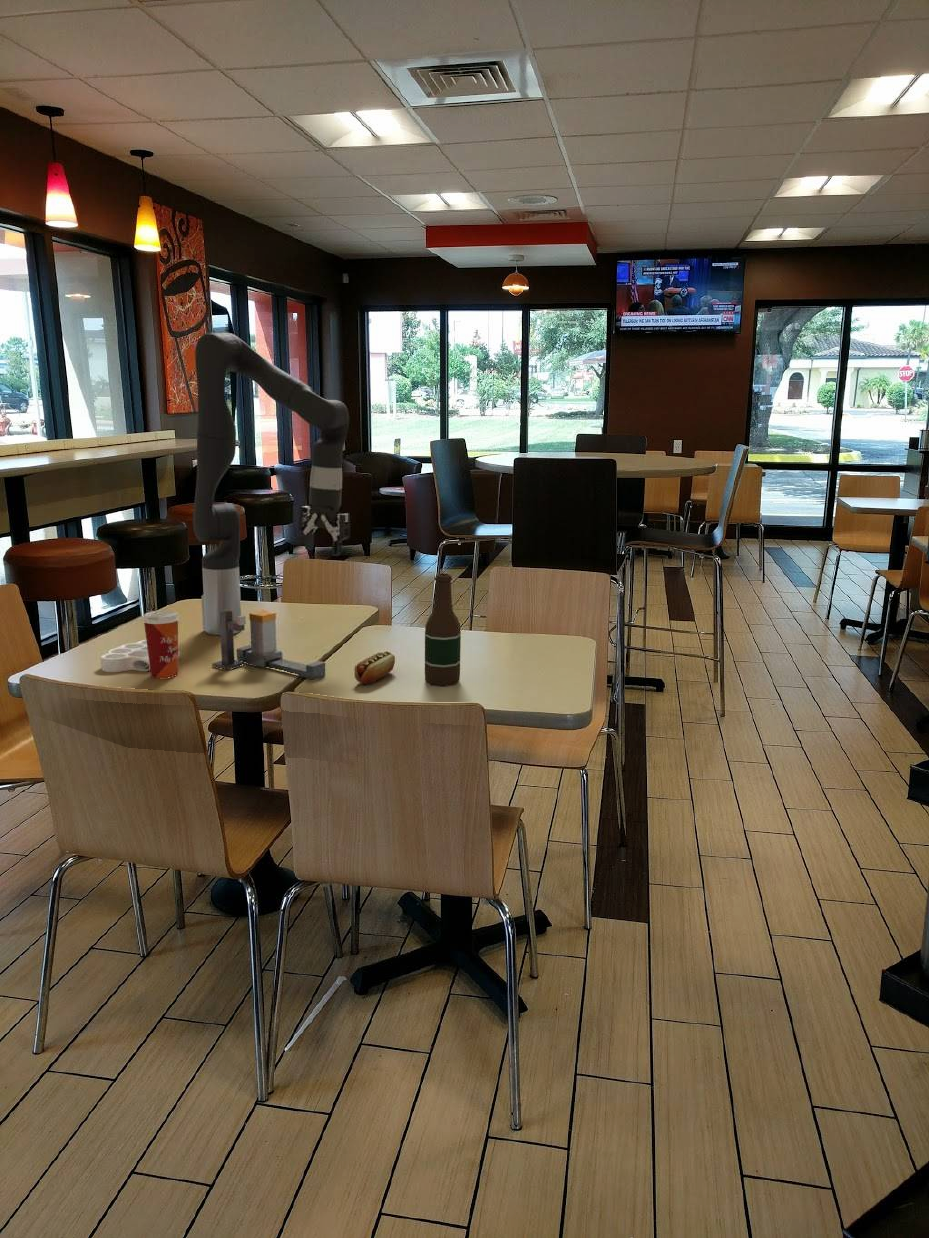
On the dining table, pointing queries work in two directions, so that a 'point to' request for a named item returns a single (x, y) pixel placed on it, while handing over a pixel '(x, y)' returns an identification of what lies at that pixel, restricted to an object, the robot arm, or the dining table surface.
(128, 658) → the white tray with holes
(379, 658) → the hot dog
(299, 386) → the robot arm
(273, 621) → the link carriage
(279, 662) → the rail
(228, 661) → the hook
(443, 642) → the beer bottle
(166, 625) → the paper cup
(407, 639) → the dining table surface
